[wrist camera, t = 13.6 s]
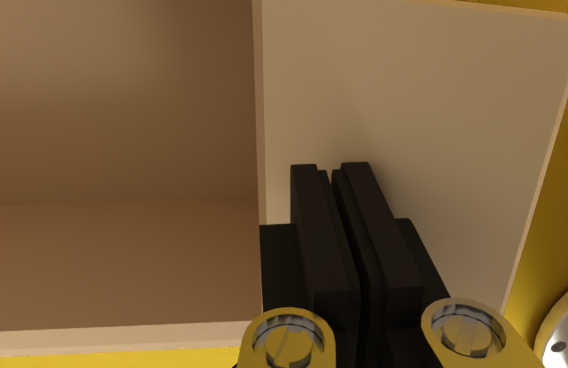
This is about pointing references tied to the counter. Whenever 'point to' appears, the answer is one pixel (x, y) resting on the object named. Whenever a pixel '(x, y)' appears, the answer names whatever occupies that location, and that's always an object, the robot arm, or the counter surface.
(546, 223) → the counter surface
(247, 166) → the carton
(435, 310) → the robot arm
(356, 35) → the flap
